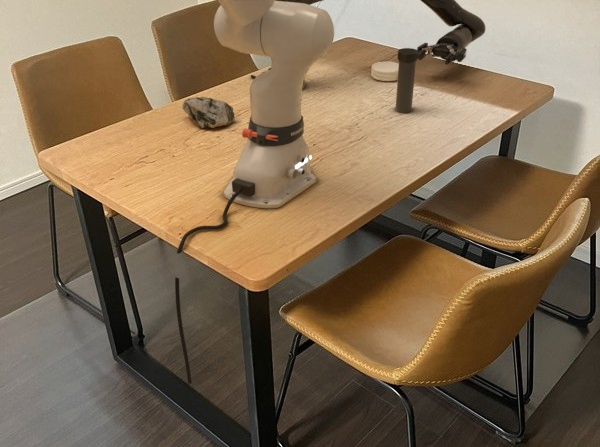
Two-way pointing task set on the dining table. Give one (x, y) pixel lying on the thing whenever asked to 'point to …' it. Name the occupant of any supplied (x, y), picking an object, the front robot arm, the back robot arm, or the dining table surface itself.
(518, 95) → the dining table surface
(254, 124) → the front robot arm
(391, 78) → the cream short cylinder
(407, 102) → the brown cylindrical canister
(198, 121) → the rock
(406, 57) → the lid
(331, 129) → the dining table surface
